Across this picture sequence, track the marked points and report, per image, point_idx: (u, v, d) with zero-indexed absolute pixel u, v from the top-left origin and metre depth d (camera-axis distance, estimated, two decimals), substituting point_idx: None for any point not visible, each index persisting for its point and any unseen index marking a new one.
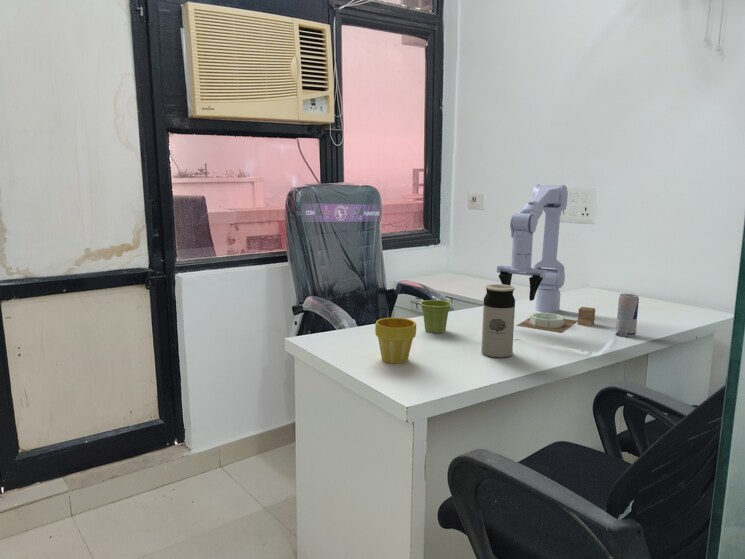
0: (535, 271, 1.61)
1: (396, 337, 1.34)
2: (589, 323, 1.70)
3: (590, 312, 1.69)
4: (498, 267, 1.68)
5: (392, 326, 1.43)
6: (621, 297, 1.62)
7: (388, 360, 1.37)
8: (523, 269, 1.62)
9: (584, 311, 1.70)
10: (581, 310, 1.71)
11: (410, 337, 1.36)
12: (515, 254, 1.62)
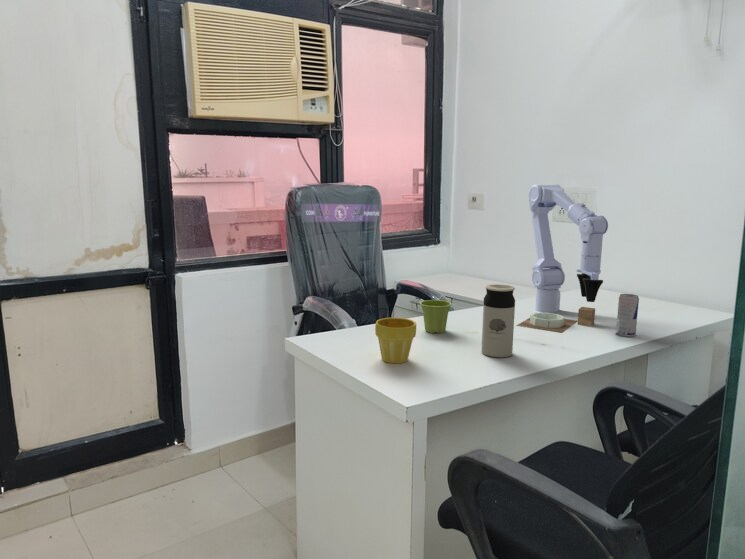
0: (588, 273, 1.65)
1: (396, 337, 1.34)
2: (589, 323, 1.70)
3: (590, 312, 1.69)
4: None
5: (392, 326, 1.43)
6: (621, 297, 1.62)
7: (388, 360, 1.37)
8: (582, 270, 1.68)
9: (584, 311, 1.70)
10: (581, 310, 1.71)
11: (410, 337, 1.36)
12: (581, 255, 1.70)
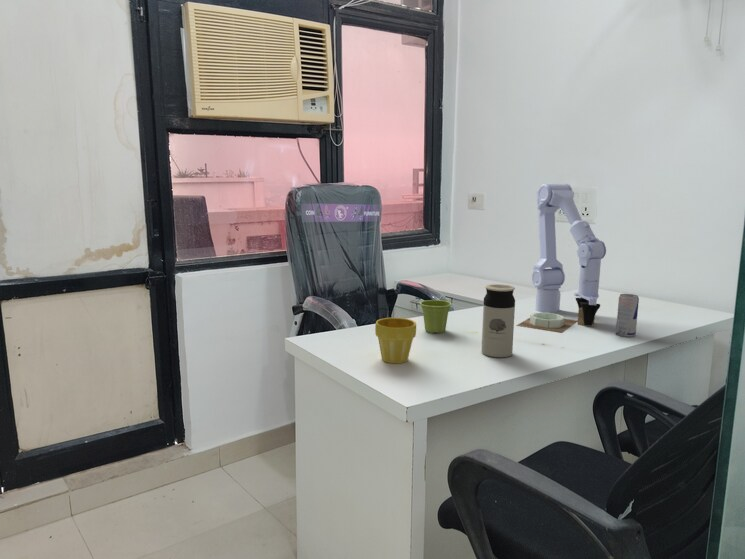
0: (586, 297, 1.66)
1: (396, 337, 1.34)
2: None
3: None
4: None
5: (392, 326, 1.43)
6: (621, 297, 1.62)
7: (388, 360, 1.37)
8: (581, 294, 1.70)
9: None
10: (581, 310, 1.71)
11: (410, 337, 1.36)
12: (579, 279, 1.71)
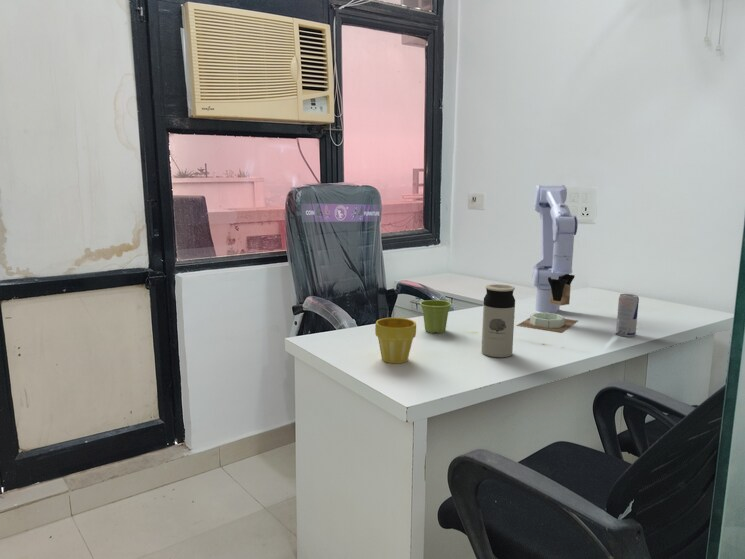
0: (552, 272, 1.66)
1: (396, 337, 1.34)
2: None
3: None
4: None
5: (392, 326, 1.43)
6: (621, 297, 1.62)
7: (388, 360, 1.37)
8: (552, 269, 1.69)
9: None
10: None
11: (410, 337, 1.36)
12: None
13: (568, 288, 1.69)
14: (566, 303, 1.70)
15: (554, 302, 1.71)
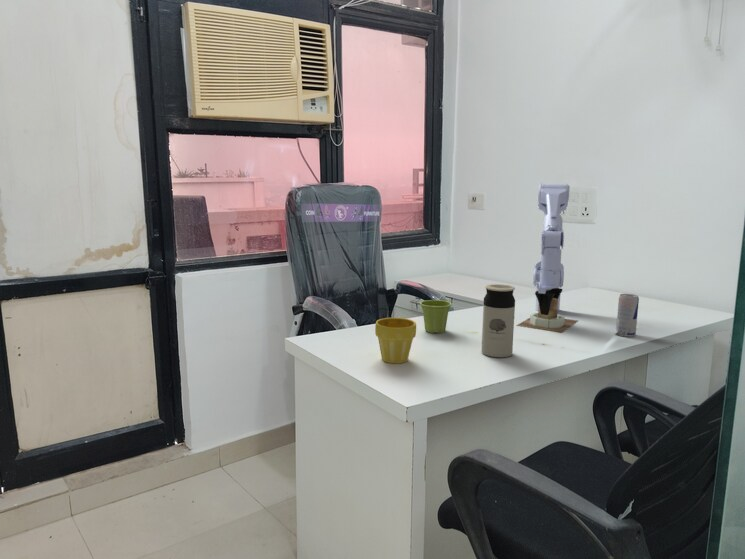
0: (539, 286, 1.67)
1: (396, 337, 1.34)
2: None
3: None
4: None
5: (392, 326, 1.43)
6: (621, 297, 1.62)
7: (388, 360, 1.37)
8: (539, 283, 1.70)
9: None
10: None
11: (410, 337, 1.36)
12: None
13: (556, 302, 1.70)
14: (554, 317, 1.71)
15: (542, 316, 1.71)
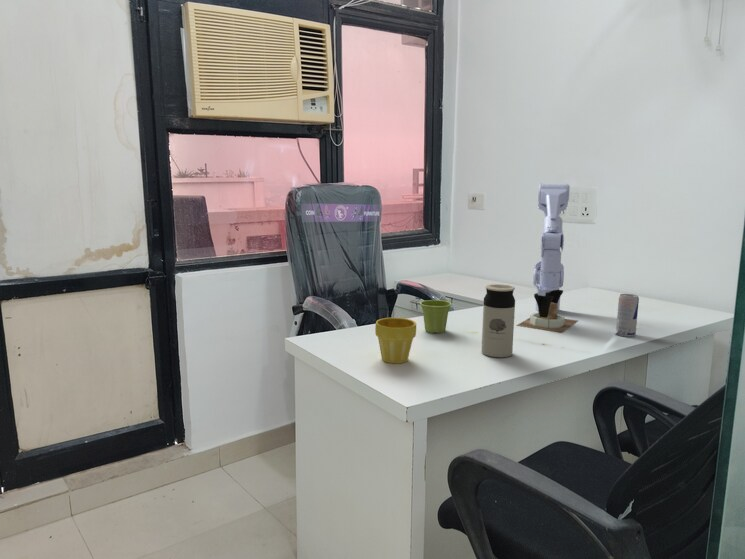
0: (539, 288, 1.67)
1: (396, 337, 1.34)
2: None
3: None
4: None
5: (392, 326, 1.43)
6: (621, 297, 1.62)
7: (388, 360, 1.37)
8: (539, 285, 1.70)
9: None
10: None
11: (410, 337, 1.36)
12: None
13: (555, 307, 1.70)
14: None
15: None
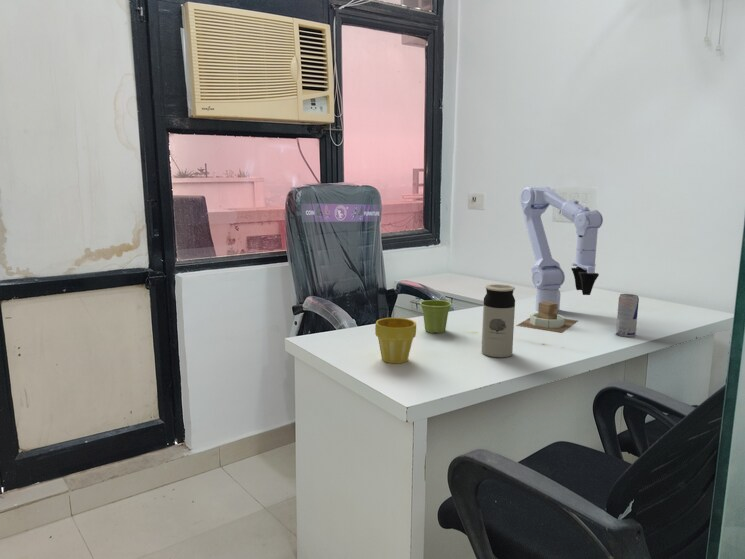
0: (584, 266, 1.68)
1: (396, 337, 1.34)
2: (546, 317, 1.70)
3: (547, 306, 1.69)
4: None
5: (392, 326, 1.43)
6: (621, 297, 1.62)
7: (388, 360, 1.37)
8: (578, 263, 1.71)
9: (543, 305, 1.71)
10: (540, 304, 1.71)
11: (410, 337, 1.36)
12: None
13: (555, 307, 1.70)
14: None
15: None
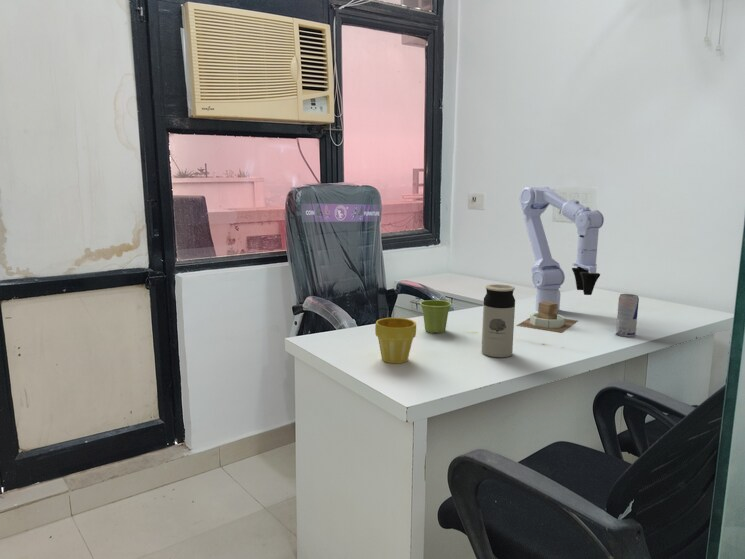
0: (586, 266, 1.68)
1: (396, 337, 1.34)
2: (546, 317, 1.70)
3: (547, 306, 1.69)
4: (576, 261, 1.80)
5: (392, 326, 1.43)
6: (621, 297, 1.62)
7: (388, 360, 1.37)
8: (579, 263, 1.71)
9: (543, 305, 1.71)
10: (540, 304, 1.71)
11: (410, 337, 1.36)
12: None
13: (555, 306, 1.70)
14: None
15: None
